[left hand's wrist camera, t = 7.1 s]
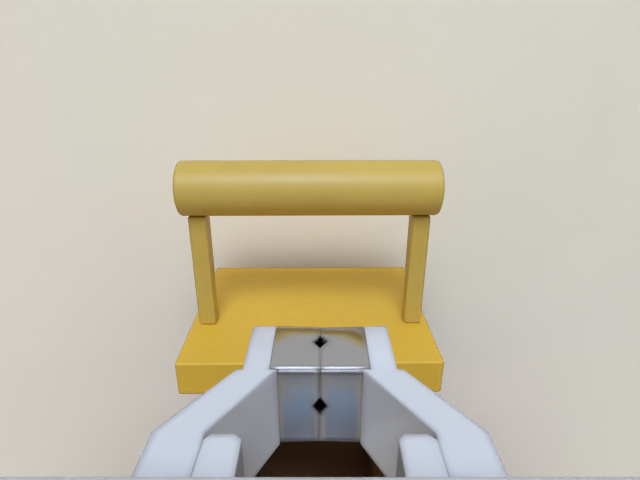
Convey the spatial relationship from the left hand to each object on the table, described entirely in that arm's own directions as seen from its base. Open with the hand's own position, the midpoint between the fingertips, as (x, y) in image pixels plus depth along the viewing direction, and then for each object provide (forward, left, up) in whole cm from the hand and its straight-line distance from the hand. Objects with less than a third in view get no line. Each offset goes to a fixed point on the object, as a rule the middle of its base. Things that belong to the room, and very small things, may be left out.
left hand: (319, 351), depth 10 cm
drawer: (+3, +8, -10) cm, 13 cm away
